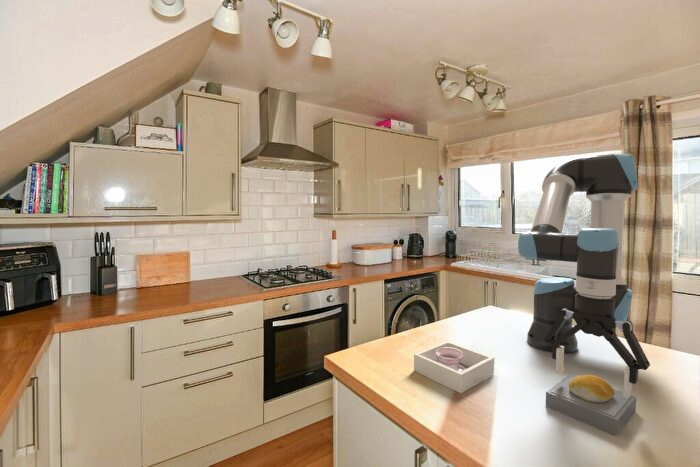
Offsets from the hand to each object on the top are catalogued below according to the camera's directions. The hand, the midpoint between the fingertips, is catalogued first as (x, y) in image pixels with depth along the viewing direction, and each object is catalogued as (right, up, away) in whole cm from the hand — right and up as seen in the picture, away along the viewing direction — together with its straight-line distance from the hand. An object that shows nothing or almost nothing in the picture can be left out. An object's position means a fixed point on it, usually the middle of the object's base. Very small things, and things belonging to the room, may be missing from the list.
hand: (591, 383), depth 81 cm
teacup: (-28, -6, +19) cm, 34 cm away
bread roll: (0, -3, 0) cm, 3 cm away
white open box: (-27, -5, +19) cm, 33 cm away
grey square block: (0, -6, 0) cm, 6 cm away
